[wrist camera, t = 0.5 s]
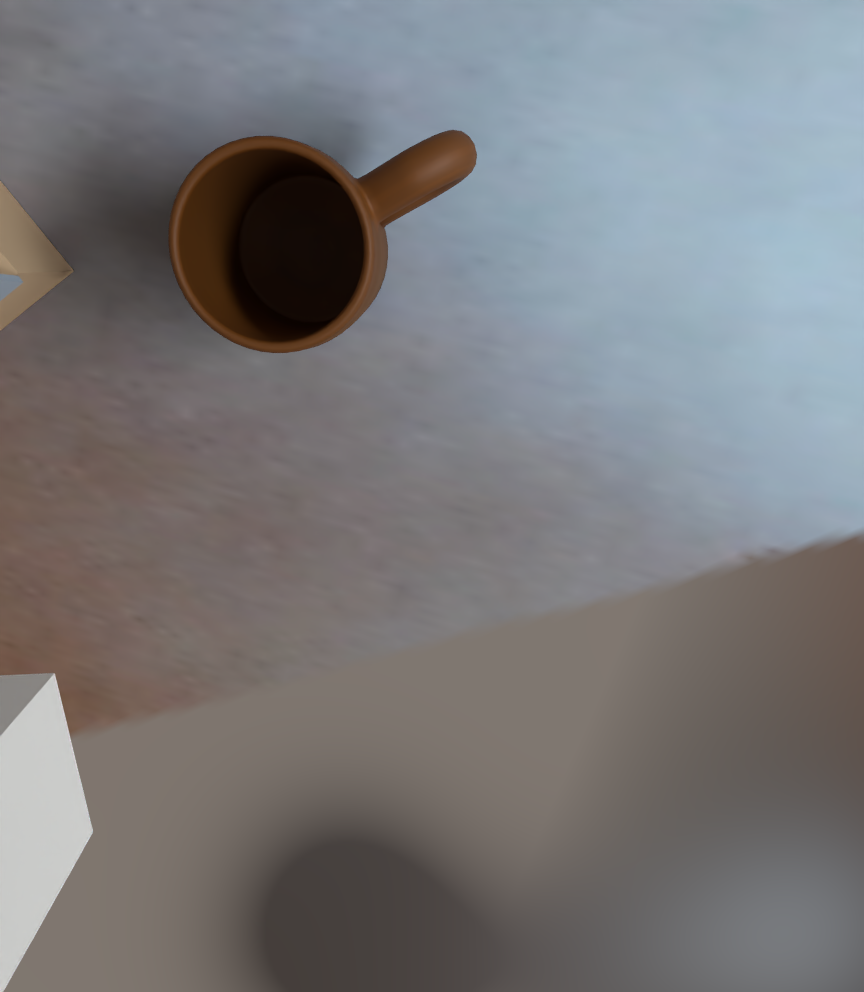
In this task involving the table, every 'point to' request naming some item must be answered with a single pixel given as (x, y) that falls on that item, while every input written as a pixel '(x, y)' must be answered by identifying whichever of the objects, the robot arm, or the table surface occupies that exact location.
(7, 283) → the lid
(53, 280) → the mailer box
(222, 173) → the mug
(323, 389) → the table surface
